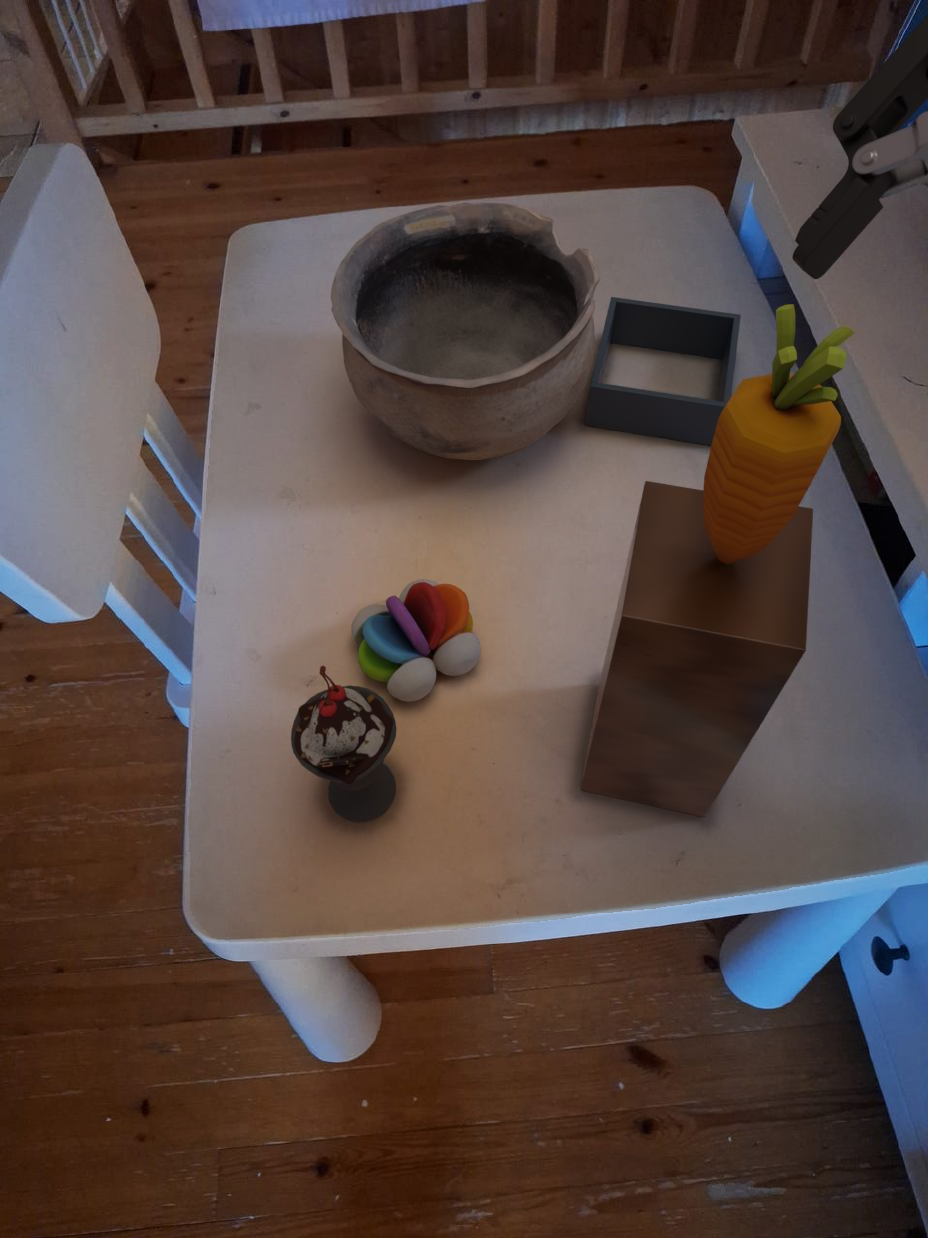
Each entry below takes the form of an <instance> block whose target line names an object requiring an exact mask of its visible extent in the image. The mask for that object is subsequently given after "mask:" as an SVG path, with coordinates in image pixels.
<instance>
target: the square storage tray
mask: <svg viewBox="0 0 928 1238" xmlns="http://www.w3.org/2000/svg"><path fill="white" fill-rule="evenodd" d="M609 300H610V301H609V305H608V309H607V313H606V318H605V322H604V325H603V329H602V334H601V338H600V343H599V347H598V350H597V351H598V352H597V355H596V360H595V364H594V368H593V372H592V377H591V382H590V385H589V390H588V391H589V393H588V400H587V408H586V416H585V422H584V423H585V424H584V425H585V426H586V427H591V428H598V429H604V430H609V431H610V430H611V431H615V432H616V431H617V432H622V433H628V434H637V435H641V436H649V437H654V438H660V439H665V440H666V439H668V440H674V441H678V442H679V441H680V442H685V443H686V442H687V443H693V444H699V445H705V446H710V447H711V445H712V441H713V438H714V434H715V430H716V427H717V423H718V419H719V417H720V415H721V412H722V411H723V409H724V408H725V406H726V404H727V403H728V401H729V400H730V398H731V396H732V392H733V383H734V376H735V366H736V359H737V349H738V343H739V342H738V341H739V335H740V334H739V333H740V327H741V326H740V325H741V317H742V315H741V314H739V313H732V312H725V311H717V310H709V309H703V308H702V309H701V308H695V307H688V306H681V305H673V304H667V303H659V302H652V301H645V300H638V299H631V298H623V297H615V296H611V297H610V299H609ZM611 344H617V345H624V346H632V347H639V348H643V349H644V348H645V349H650V350H651V349H652V350H658V351H659V350H660V351H665V352H666V351H667V352H671V353H672V352H673V353H680V354H685V355H686V354H687V355H692V356H693V355H694V356H700V357H705V358H706V357H707V358H714V359H720V360H721V366H720V374H719V380H718V387H717V395H716V400H715V399H709V398H703V397H696V396H695V397H694V396H689V395H681V394H676V393H675V394H674V393H669V392H663V391H657V390H656V391H655V390H649V389H642V388H636V387H630V386H629V387H628V386H623V385H616V384H610V383H603V377H604V373H605V368H606V364H607V363H606V362H607V361H608V356H609V351H610V346H611Z"/></svg>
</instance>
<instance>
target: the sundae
mask: <svg viewBox="0 0 928 1238" xmlns="http://www.w3.org/2000/svg"><path fill="white" fill-rule="evenodd" d="M326 671H327V667H326V666H325V665H321V666H320V667H319V675H320V676H321V677H322V679H324V681H325V683H326V686H327V689H325V690H322V691H320V692H318V693H316V694H314V695H312V696H311V697H309V698H308V699H307V700H306V701H305V702H304V703H303V704H301V705H299V707H298V710H297V713H296V714H295V715H296V716H295V718H294V720H293V723H292V727H291V733H290V741H291V748H292V753H293V755H294V756H295V758H296V759H297V761H298V763H299V764H300V765H301V766H302V767H303V768H305V769H306V770H307V771H308V772H310V773H311V774H313V775H315V776H317V777H318V778H321V779H324V780H326V781H328V782H329V783H328V788H327V794H328V801H329V803H330V806H331V807H332V808H333V810H334V812H336V814H338V815H339V816H340V817H342V818H343V819H345V820H348V821H350V822H351V821H352V822H357V823H361V822H368V821H372V820H374V819H376V818H379V817H381V815H383V814H384V813H386V811H387V810H388V809H389V808H390V806H391V805H392V803H393V802H394V800H395V796H396V791H397V785H396V779H395V776H394V774H393V772H392V771H391V769H390V768H389V766H387V764H385V763H384V761H385V758H386V757H387V755H388V754H389V753H390V752H391V750H392V748H393V745H394V743H395V740H396V738H397V723H396V721H397V720H396V718H395V715H394V713H393V711H392V709H391V707H390V705H389V704H388V703H387V702H386V700H385V699H384V698H383V697H382V696H381V695H379V694H378V693H377V692H375V691H373V690H371V689H369V688H367V687H362V686H358V685H343V686H341V685H339V684H335V682H334V681H333V680H332V678H331V677H330V676H328V674H326ZM329 682H330V683H329ZM330 684H331V685H330Z"/></svg>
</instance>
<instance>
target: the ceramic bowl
mask: <svg viewBox="0 0 928 1238" xmlns="http://www.w3.org/2000/svg"><path fill="white" fill-rule="evenodd" d="M557 231H558V230H557V228H556V225H555V222H554V219H553V218H551V217H549V216H547V215H545V214H543V213H541V212H539V211H537V210H536V209H533V208H531V207H526V206H524V205H523V206H522V205H518V204H513V203H500V202H480V203H478V202H477V203H473V202H472V203H471V202H462V203H456V204H452V205H441V204H439V205H434V206H428V207H425V208H421V209H417V210H413V211H409V212H406V213H404V214H403V213H402V214H401V215H400V214H399V215H397V216H394V217H391V218H389V219H387V220H385V221H382V222H380V223H378V224H377V225H375V226H374V227H373V228H372V229H370V231H369V232H367V233H366V234H364V235H362V237H361V238H359V239H358V240H357V241H356V242H355V243H354V244H353V245H352V247H351V248H350V249H349V251H348V252H347V253H346V255H345V256H344V258H343V259H342V260H341V261H340V263H339V265H338V267H337V269H336V271H335V274H334V278H333V281H332V285H331V289H330V300H331V313H332V316H333V319H334V320H335V322H336V325H337V327H338V328H339V330H340V331H341V333H342V334H341V336H342V337H341V339H342V340H341V341H342V342H341V347H342V355H343V364H344V369H345V372H346V375H347V378H348V381H349V384H350V385H351V387H352V390H353V392H354V395H355V397H356V398H357V400H358V402H359V403H360V405H361V406H362V407H363V408H364V410H365V411H366V412H367V413H368V414H369V416H370V417H371V418H372V419H373V420H374V421H375V422H376V423H377V424H378V425H379V426H380V427H382V428H383V429H384V430H385V431H386V432H388V433H389V434H391V435H392V436H394V437H395V438H397V439H398V440H399V441H401V442H403V443H405V444H407V445H409V446H411V447H412V448H414V449H417V450H419V451H420V452H422V453H426V454H429V455H432V456H437V457H440V458H443V459H444V458H445V459H453V460H467V461H480V460H481V461H483V460H489V459H494V458H498V457H501V456H505V455H508V454H512V453H513V452H517V451H520V450H523V449H525V448H527V447H528V446H530V445H531V444H533V443H535V442H536V441H538V440H540V439H541V438H543V437H544V436H545V435H546V434H547V433H548V432H549V431H551V430H552V429H553V428H554V427H555V426H556V425H557V424H558V423H560V422H561V421H562V419H563V418H564V417H565V416H566V415H567V414H568V413H569V412H570V411H571V409H572V408H573V407H574V405H575V404H576V402H577V401H578V400H579V398H580V397H581V395H582V394H583V392H584V391H585V388H586V386H587V383H588V380H589V377H590V374H591V370H592V366H593V365H592V364H593V359H594V352H595V351H594V350H595V322H594V316H593V315H594V312H595V310H596V301H595V300H594V294H595V292H596V289H597V287H598V284H599V283H600V281H601V278H600V277H601V276H600V274H599V273H600V272H599V270H598V267H597V265H596V264H595V260H594V256H593V255H592V253H591V252H590V250H589V249H587V248H581V247H578V248H577V249H576V250H574V252H573V253H572V254H568V255H567V254H565V253H564V252H563V250H562V247H561V241H560V239H559V235H558V232H557Z"/></svg>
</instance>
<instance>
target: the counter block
mask: <svg viewBox="0 0 928 1238" xmlns="http://www.w3.org/2000/svg"><path fill="white" fill-rule="evenodd" d="M643 485H644V486H643V488H642V489H643V490H642V493H641V498H640V503H639V506H638V511H637V516H636V519H635V520H636V521H635V525H634V528H633V533H632V538H631V543H630V547H629V551H628V556H627V560H626V565H625V569H624V573H623V578H622V582H621V586H620V591H619V594H618V600H617V604H616V608H615V613H614V618H613V622H612V626H611V631H610V635H609V639H608V643H607V649H606V653H605V656H604V661H603V667H602V670H601V675H600V680H599V684H598V689H597V695H596V700H595V706H594V710H593V717H592V723H591V728H590V733H589V738H588V742H587V749H586V754H585V759H584V765H583V771H582V777H581V782H580V787H579V790H580V791H583V792H588V793H592V794H596V795H601V796H606V797H609V798H616V799H619V800H624V801H629V802H633V803H636V804H637V803H639V804H642V805H648V806H652V807H656V808H661V809H666V810H671V811H674V812H678V813H679V812H680V813H684V814H688V815H692V816H698V817H702V818H705V817H706V816H707V814H708V813H709V811H710V810H711V808H712V806H713V805H714V803H715V802H716V799H717V798H718V796H719V794H720V793H721V791H722V789H723V788H724V787H725V785H726V783H727V782H728V780H729V779H730V777H731V775H732V773H733V772H734V770H735V768H736V767H737V765H738V764H739V761H741V759H742V757H743V755H744V754H745V752H746V750H747V748H748V747H749V746H750V743H751V742H752V741H753V739H754V737H755V735H756V733H757V732H758V731H759V729H760V727H761V726H762V724H763V722H764V721H765V719H766V717H767V715H768V714H769V712H770V710H771V709H772V707H773V706H774V704H775V702H776V701H777V699H778V697H779V696H780V694H781V692H782V691H783V690H784V687H785V686H786V684H787V683H788V681H789V679H790V678H791V676H792V674H793V673H794V671H795V669H796V668H797V666H798V664H799V663H800V661H801V660H802V657H803V656H804V654H805V653H806V651H807V641H808V640H807V639H808V620H809V619H808V618H809V601H810V600H809V599H810V583H811V582H810V581H811V579H810V578H811V561H812V560H811V559H812V539H813V521H814V509H813V508H812V507H805V506H800V505H799V506H798V508H797V509H796V511H795V513H794V515H793V516H792V517H791V519H790V520H789V521H788V522H787V524H786V525H785V526H784V527H783V529H782V530H781V531H780V532H779V533H778V534H777V536H776V537H775V538H774V539H773V540H772V541H771V542H770V543H769V544H768V545H767V546H766V547H765V548H763V549H762V550H760V551H759V552H757V553H756V554H754V555H753V556H751V557H748V558H746V559H744V560H741V561H739V562H736V563H732V564H725V563H723V562H721V561H719V560H718V557H717V555H716V553H715V551H714V549H713V547H712V545H711V542H710V540H709V538H708V535H707V531H706V527H705V523H704V519H703V490H704V489H699V488H698V489H697V488H691V487H687V486H686V487H685V486H680V485H674V484H667V483H662V482H656V481H649V480H645V481H644V484H643Z"/></svg>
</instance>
